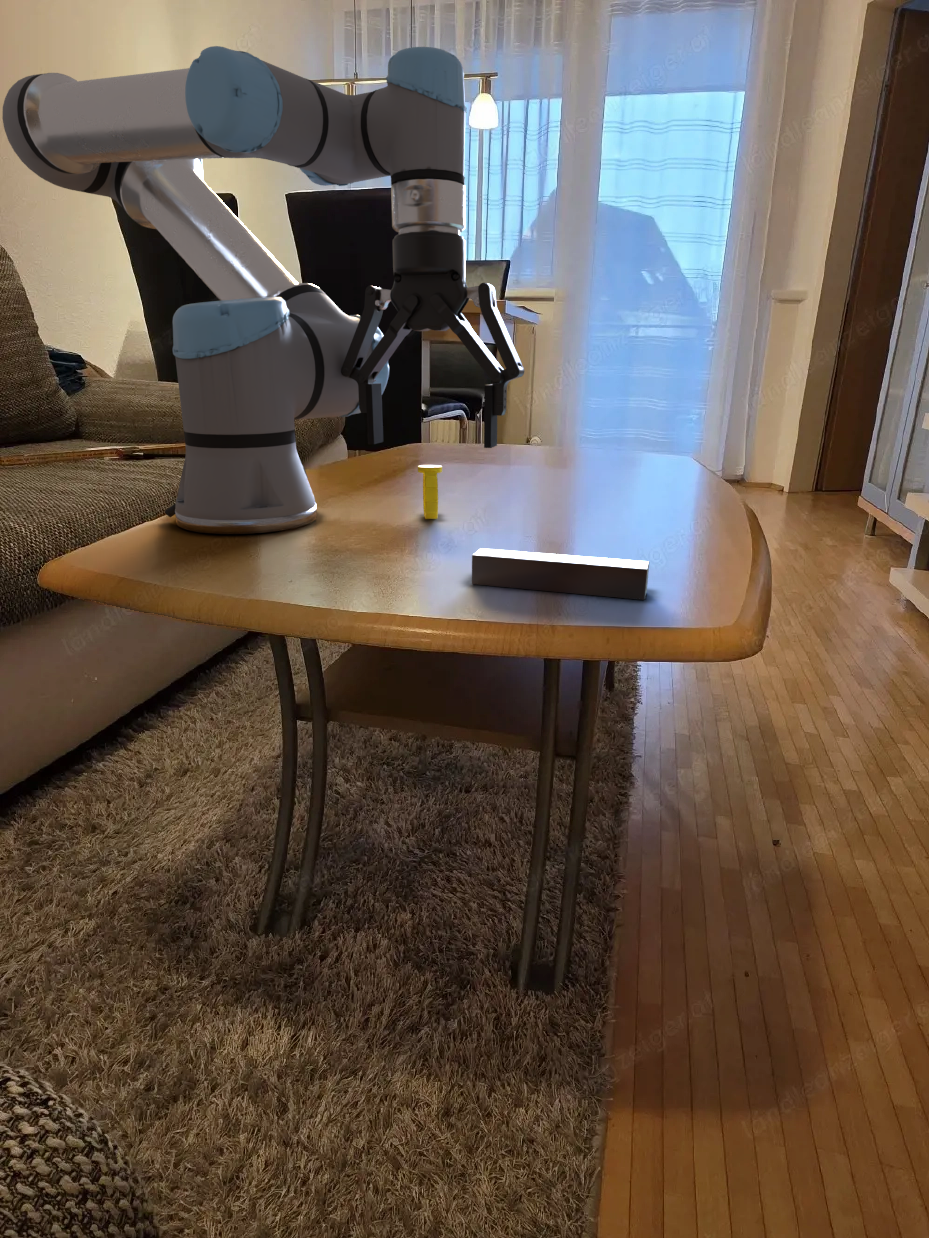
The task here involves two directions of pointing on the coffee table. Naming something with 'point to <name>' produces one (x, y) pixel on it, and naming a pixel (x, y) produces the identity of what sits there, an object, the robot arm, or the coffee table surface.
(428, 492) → the yellow capped peg
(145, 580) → the coffee table surface
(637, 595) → the walnut stick
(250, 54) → the robot arm
